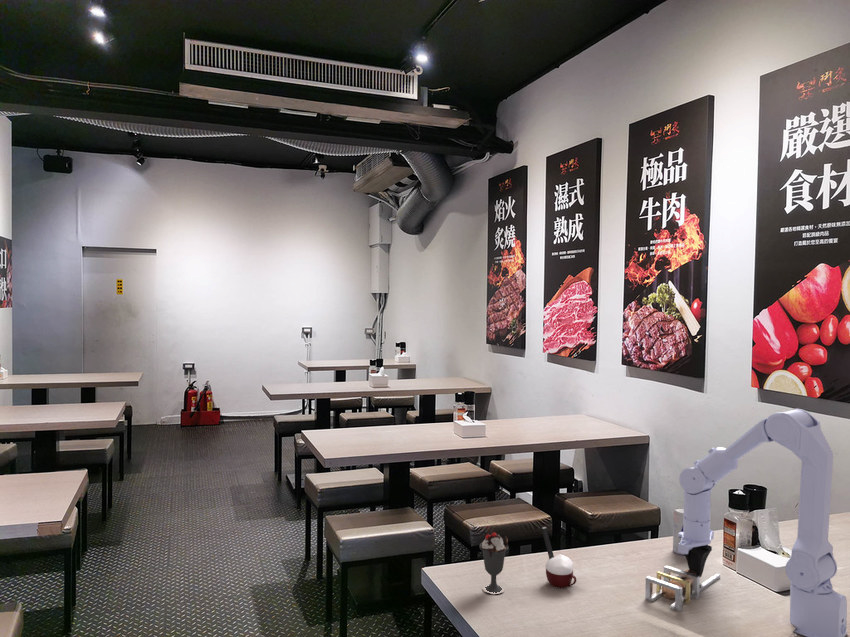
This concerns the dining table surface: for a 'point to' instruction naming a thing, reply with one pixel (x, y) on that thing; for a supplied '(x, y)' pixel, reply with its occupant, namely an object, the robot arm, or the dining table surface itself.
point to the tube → (671, 593)
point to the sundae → (494, 557)
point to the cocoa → (558, 566)
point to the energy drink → (677, 528)
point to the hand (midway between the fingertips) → (695, 576)
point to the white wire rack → (678, 590)
